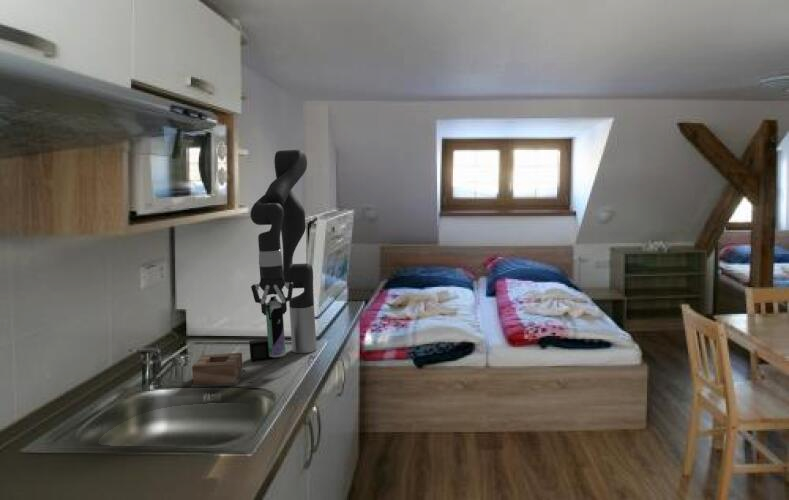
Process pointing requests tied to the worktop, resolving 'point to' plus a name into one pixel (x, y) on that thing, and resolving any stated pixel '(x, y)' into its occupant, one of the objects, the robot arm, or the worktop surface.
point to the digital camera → (260, 350)
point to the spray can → (275, 328)
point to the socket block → (218, 370)
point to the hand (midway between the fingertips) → (274, 313)
